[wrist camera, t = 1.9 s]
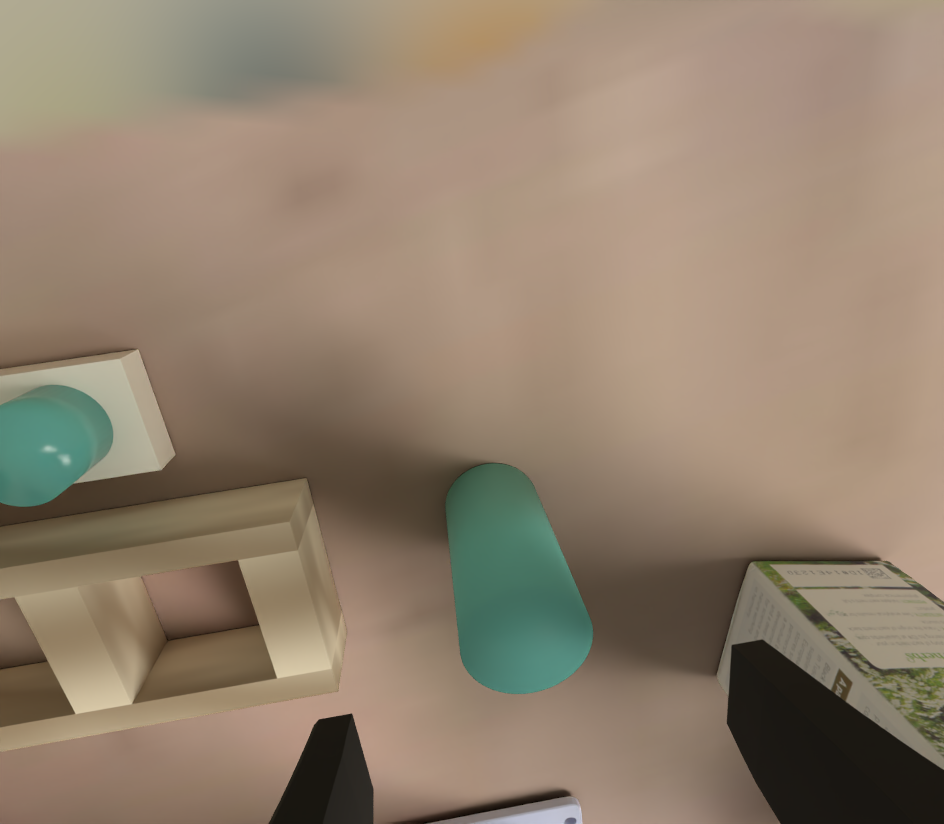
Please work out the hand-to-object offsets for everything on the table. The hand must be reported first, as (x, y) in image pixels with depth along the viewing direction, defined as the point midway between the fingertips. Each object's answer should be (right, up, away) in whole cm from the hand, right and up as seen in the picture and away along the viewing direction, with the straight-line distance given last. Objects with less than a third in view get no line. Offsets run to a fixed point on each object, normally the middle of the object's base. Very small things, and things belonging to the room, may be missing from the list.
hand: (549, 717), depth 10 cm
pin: (-1, +3, +8) cm, 8 cm away
